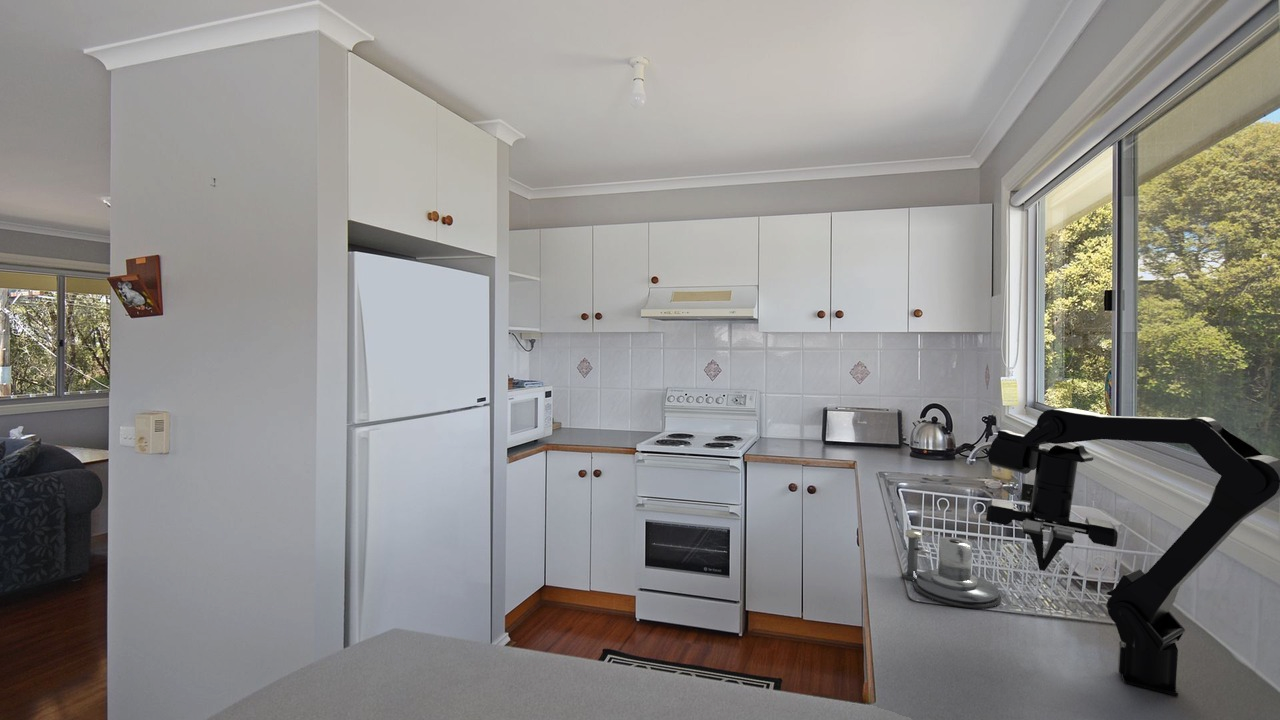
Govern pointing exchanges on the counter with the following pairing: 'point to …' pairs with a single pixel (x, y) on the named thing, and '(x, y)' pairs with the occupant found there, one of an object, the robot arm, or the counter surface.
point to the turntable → (958, 593)
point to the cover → (954, 565)
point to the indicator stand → (913, 553)
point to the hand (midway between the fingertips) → (1041, 569)
